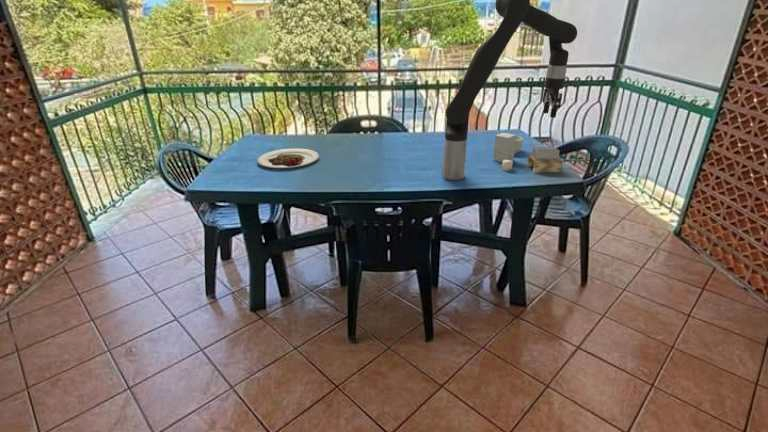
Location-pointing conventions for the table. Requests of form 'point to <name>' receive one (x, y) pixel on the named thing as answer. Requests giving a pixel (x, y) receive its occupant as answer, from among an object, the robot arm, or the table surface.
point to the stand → (544, 165)
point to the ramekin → (518, 144)
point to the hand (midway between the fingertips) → (549, 115)
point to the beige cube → (507, 165)
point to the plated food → (288, 158)
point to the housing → (545, 153)
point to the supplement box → (504, 147)
